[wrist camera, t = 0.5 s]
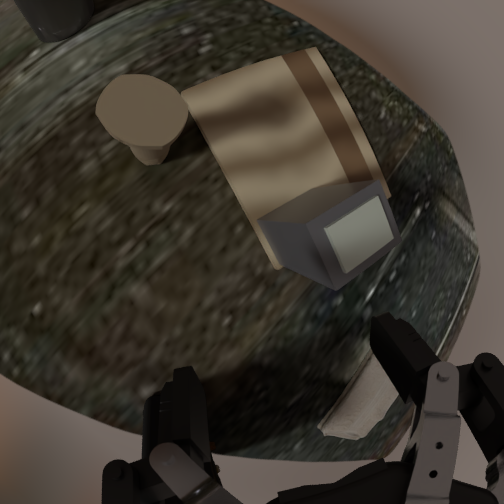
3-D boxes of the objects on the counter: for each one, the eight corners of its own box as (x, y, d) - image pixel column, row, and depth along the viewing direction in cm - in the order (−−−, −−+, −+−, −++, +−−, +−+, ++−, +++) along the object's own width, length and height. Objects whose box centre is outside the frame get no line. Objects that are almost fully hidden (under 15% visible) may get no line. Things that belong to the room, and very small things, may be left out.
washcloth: (312, 428, 43) (319, 438, 40) (370, 340, 43) (381, 347, 40) (356, 435, 46) (364, 444, 43) (407, 358, 46) (418, 364, 43)
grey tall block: (256, 219, 34) (308, 224, 21) (311, 188, 35) (382, 178, 22) (279, 264, 35) (339, 292, 22) (331, 231, 37) (405, 241, 24)
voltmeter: (216, 459, 38) (260, 587, 14) (163, 464, 36) (182, 596, 12) (203, 384, 36) (254, 549, 12) (139, 390, 34) (134, 558, 10)
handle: (141, 123, 30) (123, 63, 16) (187, 147, 32) (200, 99, 17) (119, 159, 30) (83, 120, 16) (167, 184, 32) (163, 160, 17)
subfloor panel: (180, 95, 31) (181, 91, 30) (311, 50, 34) (315, 46, 33) (274, 268, 36) (277, 270, 35) (386, 196, 40) (391, 196, 39)
